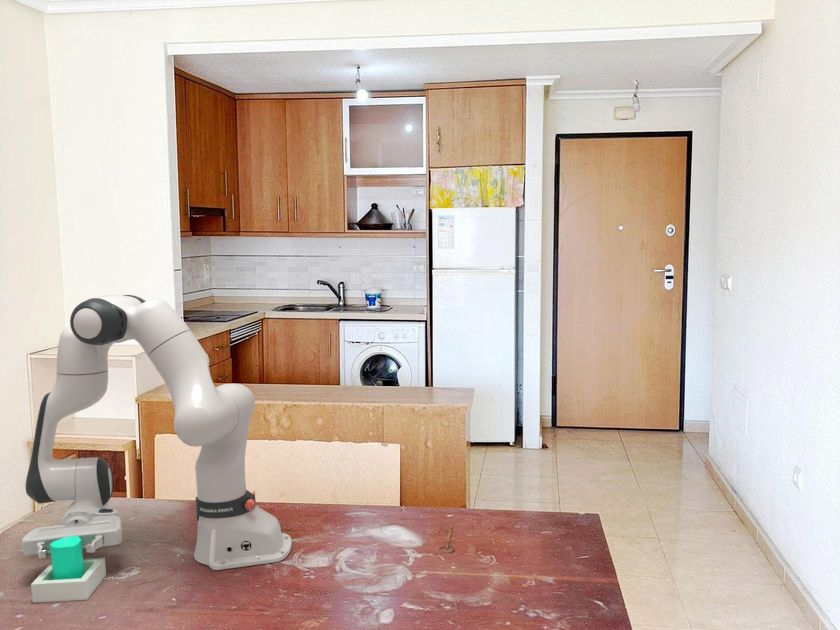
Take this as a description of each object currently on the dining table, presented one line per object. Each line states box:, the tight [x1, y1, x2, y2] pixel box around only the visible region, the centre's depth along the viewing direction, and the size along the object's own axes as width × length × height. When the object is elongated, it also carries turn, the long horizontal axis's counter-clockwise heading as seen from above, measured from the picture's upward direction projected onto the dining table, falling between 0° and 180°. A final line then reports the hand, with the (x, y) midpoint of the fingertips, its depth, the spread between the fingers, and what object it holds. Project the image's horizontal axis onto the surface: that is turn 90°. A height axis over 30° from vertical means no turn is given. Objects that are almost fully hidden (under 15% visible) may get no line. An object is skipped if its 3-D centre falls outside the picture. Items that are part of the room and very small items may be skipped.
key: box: [437, 524, 456, 554], centre depth 178 cm, size 6×1×15 cm
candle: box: [50, 535, 84, 580], centre depth 158 cm, size 6×6×12 cm
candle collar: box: [30, 557, 107, 603], centre depth 158 cm, size 11×11×4 cm
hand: (66, 552), depth 157 cm, fingers open, 8 cm apart
